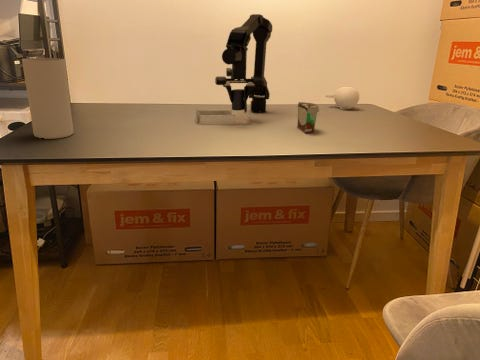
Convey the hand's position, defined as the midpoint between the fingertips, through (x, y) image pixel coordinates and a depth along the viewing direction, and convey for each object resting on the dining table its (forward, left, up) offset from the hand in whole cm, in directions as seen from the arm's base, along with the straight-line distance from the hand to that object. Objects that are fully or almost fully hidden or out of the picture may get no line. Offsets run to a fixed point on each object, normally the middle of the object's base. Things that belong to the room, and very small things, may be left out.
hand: (238, 102), depth 164 cm
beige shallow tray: (+6, 0, -8) cm, 10 cm away
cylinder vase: (+67, +21, -8) cm, 71 cm away
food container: (-25, +18, -8) cm, 32 cm away
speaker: (0, 0, -4) cm, 4 cm away
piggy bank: (-59, -30, -8) cm, 67 cm away
